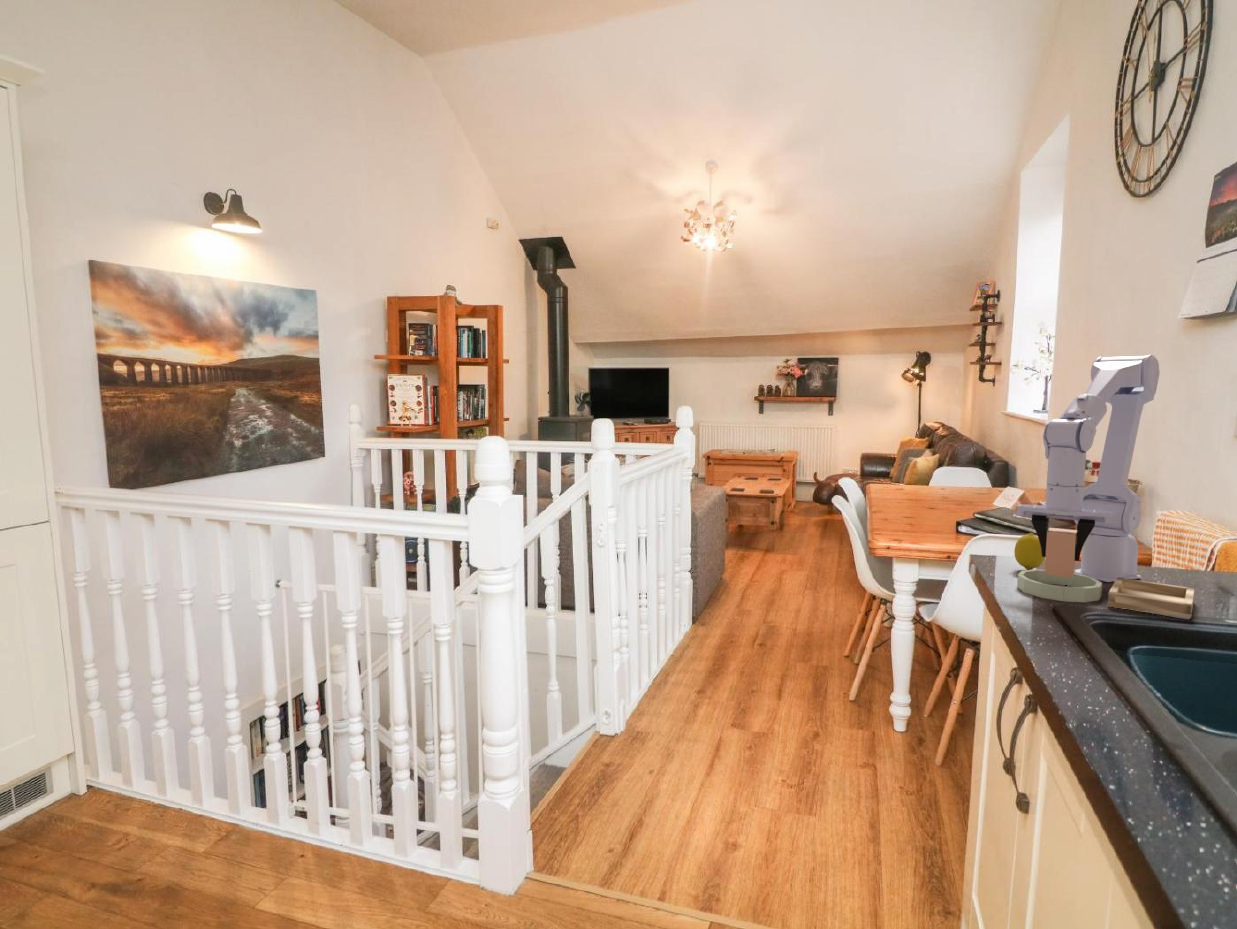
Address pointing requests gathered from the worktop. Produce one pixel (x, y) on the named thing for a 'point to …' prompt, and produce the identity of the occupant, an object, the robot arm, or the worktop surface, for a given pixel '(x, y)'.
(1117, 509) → the robot arm
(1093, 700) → the worktop surface
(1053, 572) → the pink block
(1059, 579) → the ceramic ring
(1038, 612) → the worktop surface
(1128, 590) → the birch tray
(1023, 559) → the lemon
